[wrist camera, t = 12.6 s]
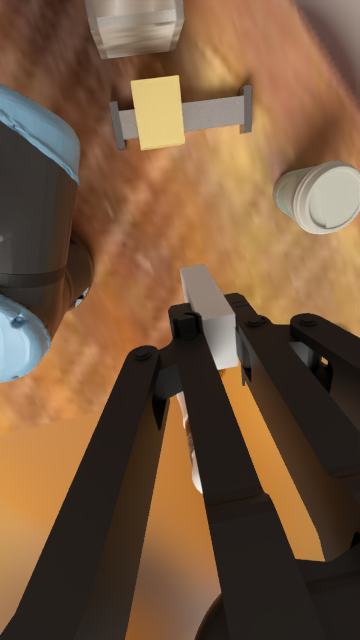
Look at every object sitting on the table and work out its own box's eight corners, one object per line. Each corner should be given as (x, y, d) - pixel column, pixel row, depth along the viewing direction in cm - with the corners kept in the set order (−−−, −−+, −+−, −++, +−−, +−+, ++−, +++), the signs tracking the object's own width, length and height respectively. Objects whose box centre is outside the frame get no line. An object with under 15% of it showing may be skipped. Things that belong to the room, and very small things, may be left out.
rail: (118, 149, 40) (117, 149, 38) (110, 104, 37) (108, 102, 36) (246, 132, 41) (251, 131, 39) (246, 88, 38) (251, 84, 36)
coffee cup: (269, 159, 43) (310, 159, 32) (323, 161, 44) (381, 161, 33) (259, 219, 47) (293, 237, 36) (309, 220, 48) (356, 237, 37)
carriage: (141, 150, 40) (141, 148, 32) (132, 96, 37) (130, 80, 30) (176, 146, 40) (185, 143, 33) (171, 92, 37) (178, 75, 30)
